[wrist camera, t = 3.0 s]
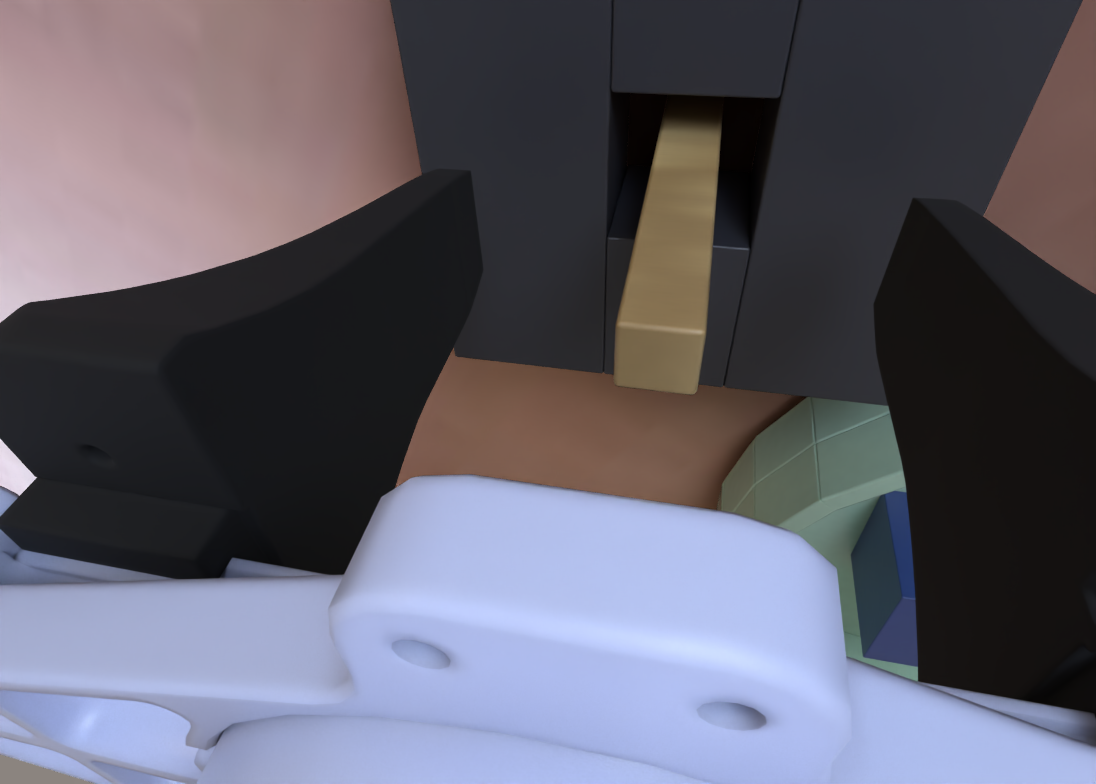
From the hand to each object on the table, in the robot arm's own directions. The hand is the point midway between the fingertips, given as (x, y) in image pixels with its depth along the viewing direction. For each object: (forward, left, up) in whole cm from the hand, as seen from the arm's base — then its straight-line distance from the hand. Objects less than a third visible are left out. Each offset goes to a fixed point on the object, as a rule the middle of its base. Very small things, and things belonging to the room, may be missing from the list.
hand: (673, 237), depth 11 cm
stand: (0, 0, -6) cm, 6 cm away
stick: (0, 0, -6) cm, 6 cm away
